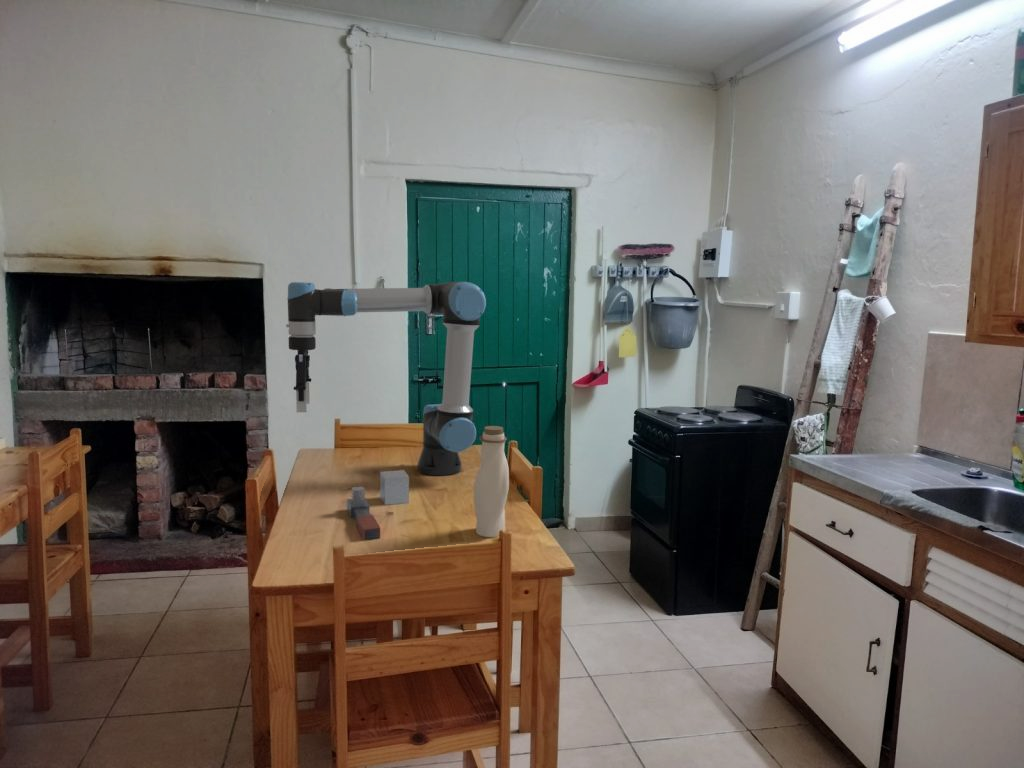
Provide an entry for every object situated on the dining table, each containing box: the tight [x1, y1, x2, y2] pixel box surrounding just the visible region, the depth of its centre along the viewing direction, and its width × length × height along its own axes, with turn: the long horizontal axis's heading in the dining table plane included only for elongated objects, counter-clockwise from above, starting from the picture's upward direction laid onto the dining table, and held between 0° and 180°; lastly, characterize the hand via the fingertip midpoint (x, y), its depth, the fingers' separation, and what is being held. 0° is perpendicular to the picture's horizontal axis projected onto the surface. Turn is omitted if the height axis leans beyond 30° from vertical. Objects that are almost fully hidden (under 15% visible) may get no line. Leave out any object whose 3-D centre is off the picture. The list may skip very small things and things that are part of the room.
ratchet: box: [346, 486, 381, 541], centre depth 181 cm, size 5×24×7 cm, turn 22°
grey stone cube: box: [379, 469, 410, 506], centre depth 201 cm, size 7×7×8 cm
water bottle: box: [473, 425, 510, 538], centre depth 177 cm, size 10×9×28 cm
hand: (303, 407), depth 200 cm, fingers open, 13 cm apart
